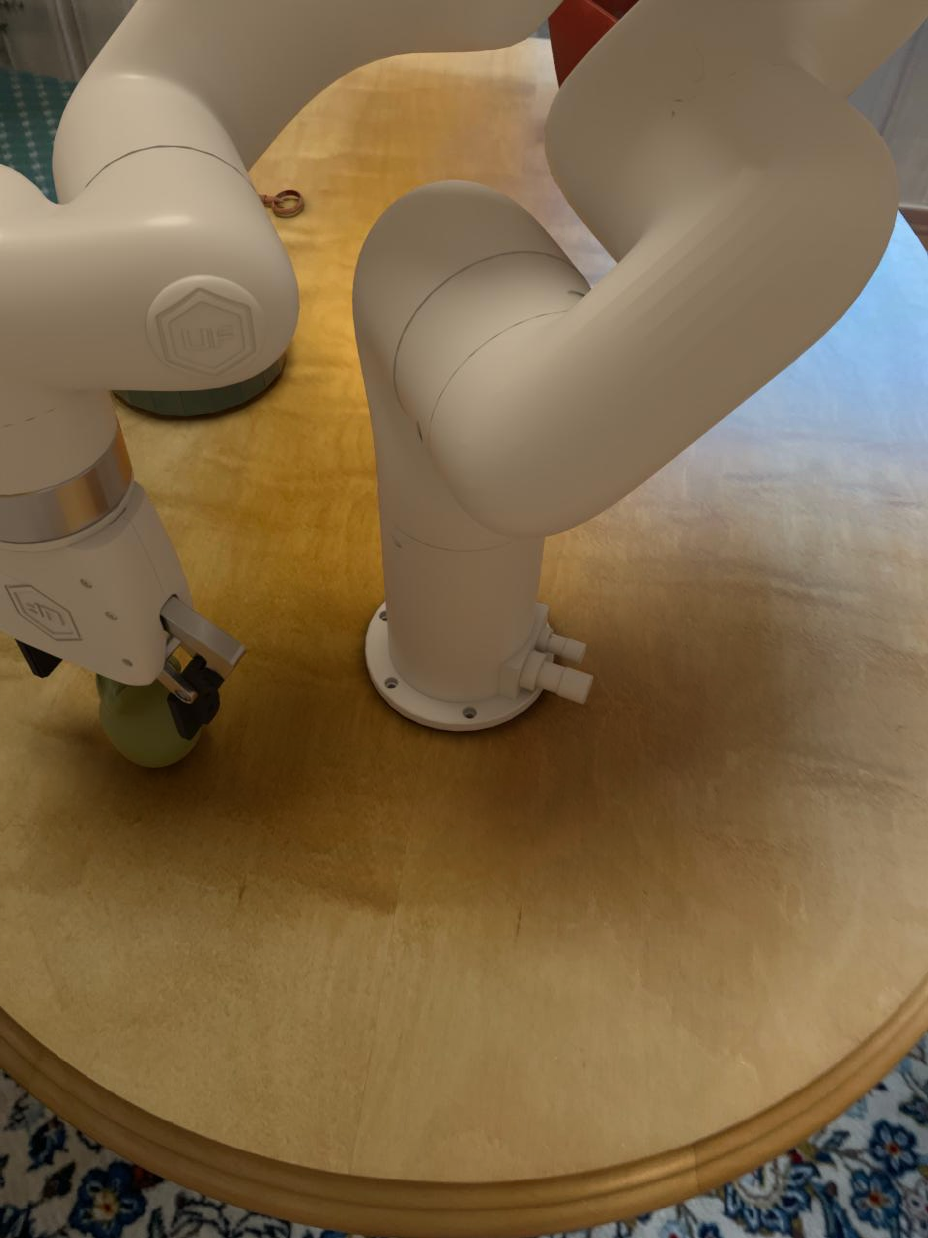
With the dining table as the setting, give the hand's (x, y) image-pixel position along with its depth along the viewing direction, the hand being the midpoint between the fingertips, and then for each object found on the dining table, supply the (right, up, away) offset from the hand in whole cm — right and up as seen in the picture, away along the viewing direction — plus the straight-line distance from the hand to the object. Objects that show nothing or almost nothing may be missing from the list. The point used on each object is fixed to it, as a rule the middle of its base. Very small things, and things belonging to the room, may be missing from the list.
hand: (127, 688), depth 55 cm
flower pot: (+39, +55, +52) cm, 85 cm away
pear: (0, -4, +6) cm, 7 cm away
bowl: (-4, +26, +28) cm, 39 cm away
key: (-5, +46, +44) cm, 64 cm away
